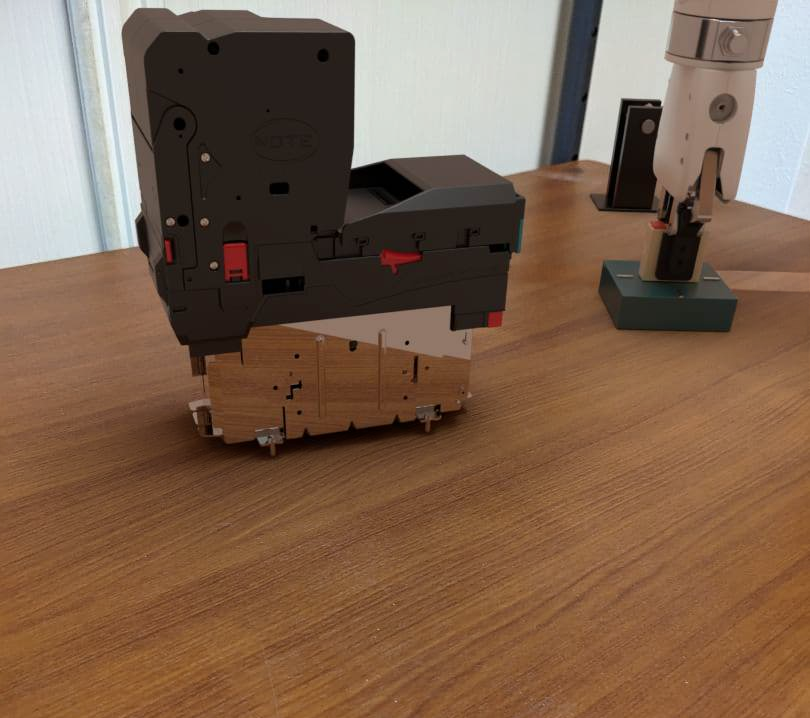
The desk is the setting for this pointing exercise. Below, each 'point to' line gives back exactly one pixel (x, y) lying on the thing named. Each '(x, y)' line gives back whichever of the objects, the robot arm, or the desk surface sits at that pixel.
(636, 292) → the dial panel
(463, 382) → the bill acceptor
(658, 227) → the tan upright slab
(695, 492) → the desk surface
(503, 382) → the desk surface
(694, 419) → the desk surface
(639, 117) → the lever bracket
